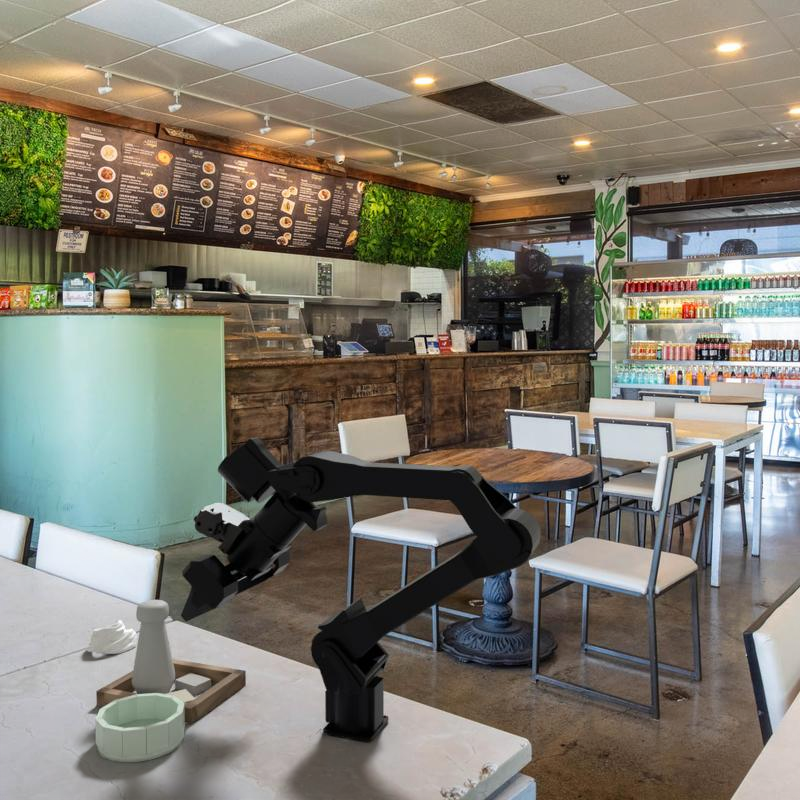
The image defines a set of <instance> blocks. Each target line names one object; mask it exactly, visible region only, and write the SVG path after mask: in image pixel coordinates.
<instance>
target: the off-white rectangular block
mask: <svg viewBox="0 0 800 800" xmlns="http://www.w3.org/2000/svg"><path fill="white" fill-rule="evenodd" d="M211 687H212V683H211V679H209V678H206V677H203V676H200V675H197V674H193V673H190V674H187V675H185V676H183V677H180V678H179V677H177V678H175V681H174V690H177V691H179V690H184V689H186V690H187V691H188V692H189V693H190V694H191V695H192V696H196V695H199V694H202V693H204V692H206V691H207V690H208V689H210V688H211Z"/></svg>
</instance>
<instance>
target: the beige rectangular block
mask: <svg viewBox="0 0 800 800" xmlns="http://www.w3.org/2000/svg"><path fill="white" fill-rule="evenodd" d="M166 694H167V695H172V696H176V697H177V698H178V699H180V700H181V701H182V702H186V703H189V702H191V701H192V700H194V699H195V698H196V697H194V695H193V694H190V693H189V692H188V691H187V690H186V689H184V690H175V691H172V692H171V691H170V692H169V693H166Z"/></svg>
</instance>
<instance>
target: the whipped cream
mask: <svg viewBox="0 0 800 800" xmlns="http://www.w3.org/2000/svg"><path fill="white" fill-rule="evenodd" d="M137 644H138V635H137V632H136V631H135V630H134V629H133V628H128V629H126V627H125V624H124V623H123V620H121V619H117V621H115V622H114V623H112V624H111V625H108V626H103V627H100V628H95V629H94V628H93V631H92V635H90V642H89V644H88V646H89V647H87V648H85V650H86V652H88V653H97V654H101V655H118V654H122V653H125V652H128V651H130V650H132V649H133V648H135V647H137Z"/></svg>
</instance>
